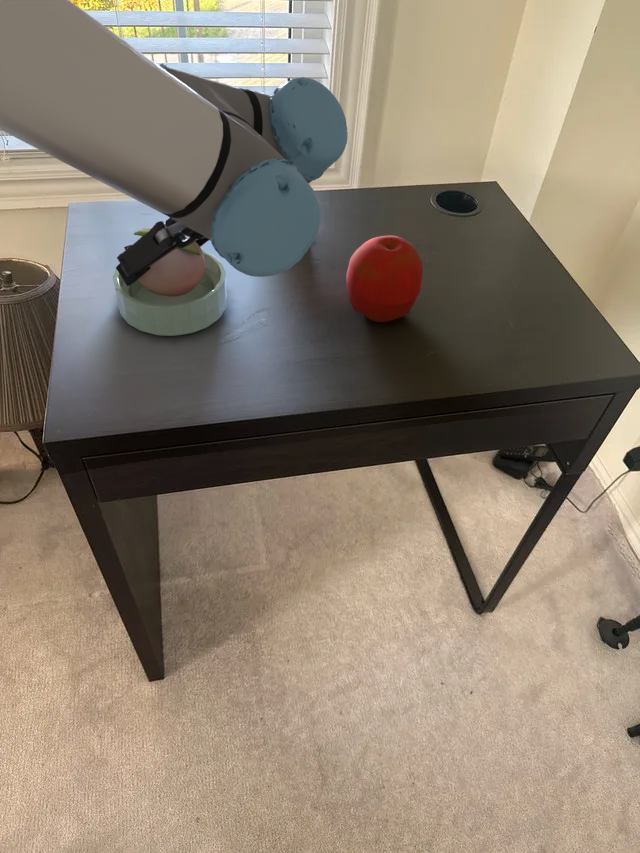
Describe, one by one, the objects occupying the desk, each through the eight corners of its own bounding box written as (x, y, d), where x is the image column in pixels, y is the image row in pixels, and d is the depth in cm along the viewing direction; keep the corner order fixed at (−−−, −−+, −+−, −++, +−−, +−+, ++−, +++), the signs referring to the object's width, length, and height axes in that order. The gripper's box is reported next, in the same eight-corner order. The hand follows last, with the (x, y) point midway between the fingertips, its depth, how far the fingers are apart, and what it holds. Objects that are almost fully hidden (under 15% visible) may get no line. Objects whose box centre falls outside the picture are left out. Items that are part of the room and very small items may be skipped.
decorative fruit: (125, 308, 83) (112, 240, 76) (150, 273, 89) (139, 206, 82) (194, 321, 83) (187, 253, 75) (215, 285, 88) (210, 218, 81)
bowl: (127, 347, 81) (121, 315, 77) (113, 282, 90) (107, 251, 86) (237, 329, 84) (236, 298, 81) (214, 269, 93) (212, 239, 90)
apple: (377, 281, 94) (388, 208, 86) (430, 314, 89) (447, 241, 81) (328, 308, 89) (335, 233, 80) (381, 344, 84) (395, 269, 76)
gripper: (172, 264, 61) (100, 322, 79) (320, 190, 73) (228, 256, 91) (128, 191, 59) (65, 267, 78) (287, 128, 71) (200, 207, 89)
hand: (153, 261), depth 84 cm, fingers closed on decorative fruit, 9 cm apart
